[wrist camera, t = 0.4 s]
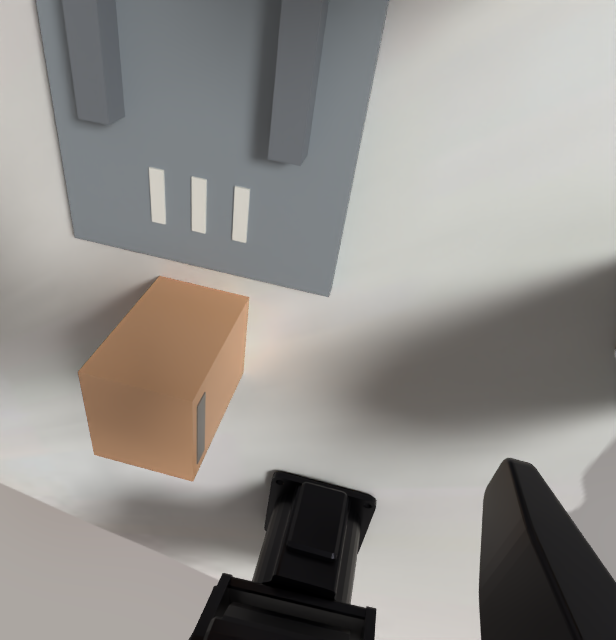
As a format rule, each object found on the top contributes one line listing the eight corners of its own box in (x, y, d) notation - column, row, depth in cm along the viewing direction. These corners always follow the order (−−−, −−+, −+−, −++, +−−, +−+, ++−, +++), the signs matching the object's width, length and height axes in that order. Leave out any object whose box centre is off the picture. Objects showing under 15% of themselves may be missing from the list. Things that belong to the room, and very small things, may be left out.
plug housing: (244, 372, 27) (194, 481, 22) (162, 352, 27) (93, 454, 22) (250, 297, 24) (193, 401, 19) (158, 275, 24) (76, 371, 19)
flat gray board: (331, 289, 23) (316, 335, 20) (81, 231, 24) (36, 268, 21) (412, -118, 14) (406, -133, 12) (18, -182, 15) (-72, -210, 13)
